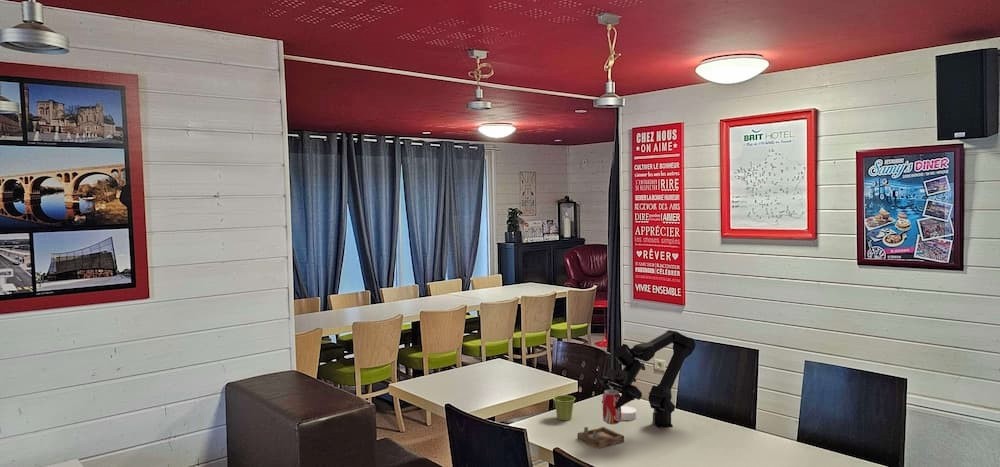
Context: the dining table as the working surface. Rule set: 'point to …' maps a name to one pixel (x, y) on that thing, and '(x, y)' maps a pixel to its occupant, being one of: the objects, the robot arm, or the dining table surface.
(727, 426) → the dining table surface
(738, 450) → the dining table surface
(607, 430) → the caddy
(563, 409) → the plant pot
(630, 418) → the coaster
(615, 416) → the soda can
